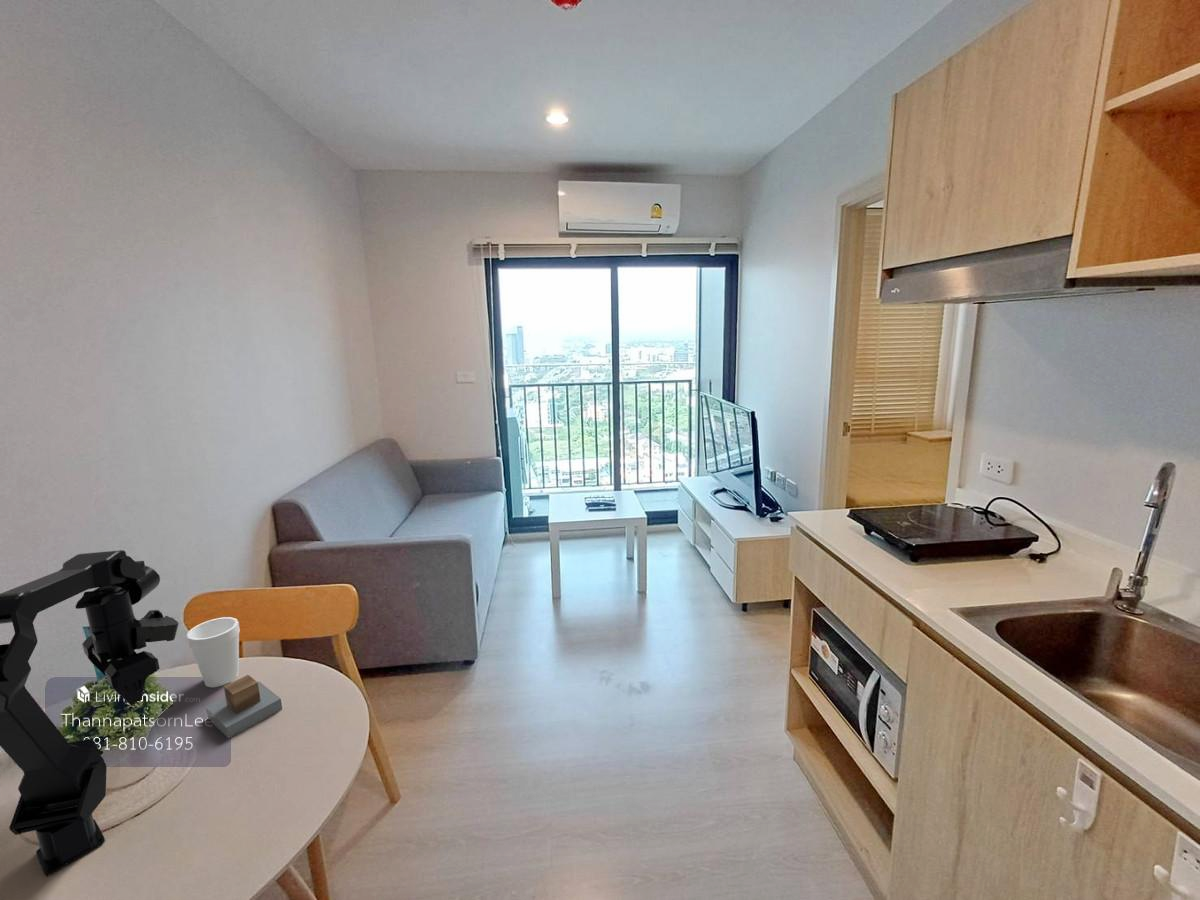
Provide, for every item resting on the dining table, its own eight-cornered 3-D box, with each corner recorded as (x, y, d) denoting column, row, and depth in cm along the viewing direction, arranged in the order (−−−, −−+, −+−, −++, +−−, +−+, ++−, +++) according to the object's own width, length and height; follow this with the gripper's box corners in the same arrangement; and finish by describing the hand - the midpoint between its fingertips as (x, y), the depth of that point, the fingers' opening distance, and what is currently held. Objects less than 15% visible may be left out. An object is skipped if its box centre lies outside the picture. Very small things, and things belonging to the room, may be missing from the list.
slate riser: (282, 708, 108) (280, 698, 107) (228, 738, 100) (226, 727, 99) (260, 691, 113) (259, 681, 113) (207, 718, 105) (205, 707, 105)
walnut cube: (260, 701, 106) (257, 682, 106) (236, 713, 103) (233, 694, 102) (251, 693, 109) (248, 674, 108) (227, 705, 105) (223, 686, 104)
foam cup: (249, 678, 118) (241, 628, 115) (200, 697, 111) (190, 645, 108) (241, 660, 124) (233, 612, 121) (194, 678, 118) (184, 627, 115)
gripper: (187, 614, 91) (201, 690, 94) (151, 587, 101) (165, 656, 104) (103, 644, 82) (122, 727, 85) (73, 611, 92) (91, 686, 95)
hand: (128, 695), depth 93 cm, fingers open, 9 cm apart
